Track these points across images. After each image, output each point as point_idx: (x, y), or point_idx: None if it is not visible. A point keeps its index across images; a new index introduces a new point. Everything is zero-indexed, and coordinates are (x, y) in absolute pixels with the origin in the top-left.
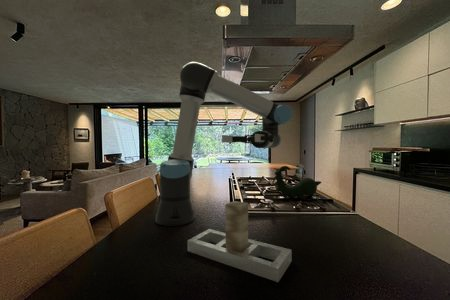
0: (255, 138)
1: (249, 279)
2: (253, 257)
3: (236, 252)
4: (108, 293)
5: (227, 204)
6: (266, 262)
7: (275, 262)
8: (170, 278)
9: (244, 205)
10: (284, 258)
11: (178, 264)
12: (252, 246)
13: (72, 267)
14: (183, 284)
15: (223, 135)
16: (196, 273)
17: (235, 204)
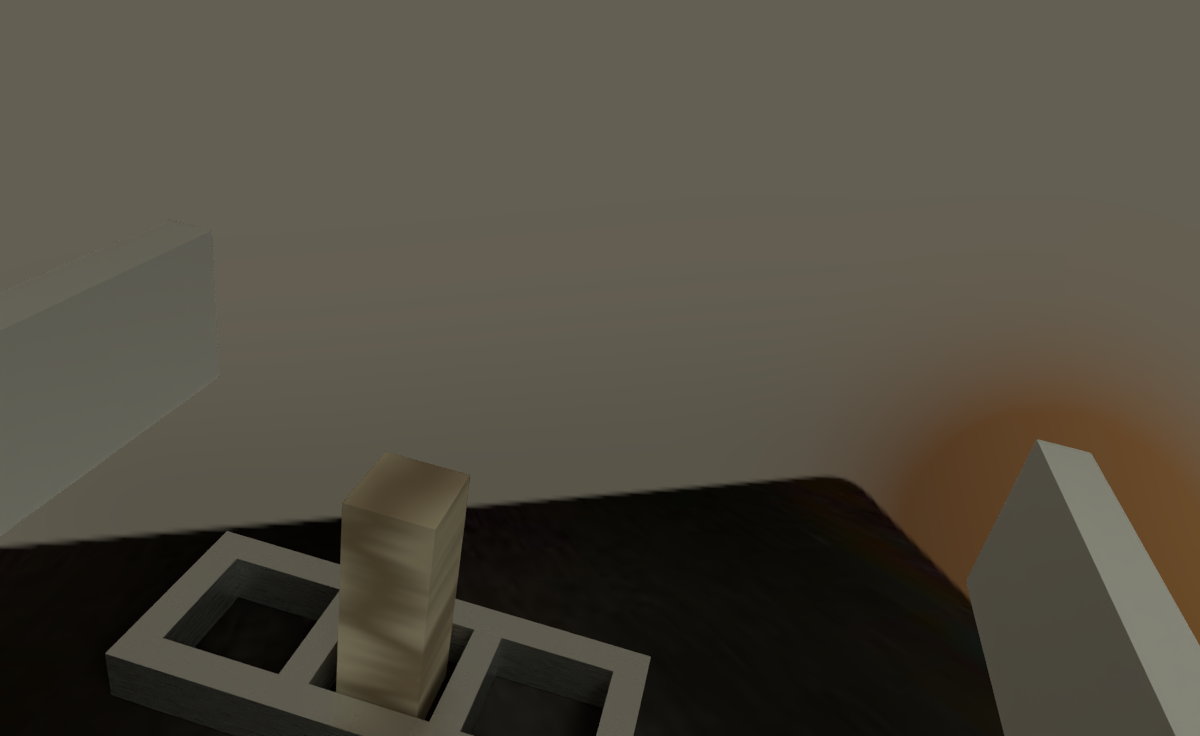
0: (203, 313)
1: None
2: (315, 575)
3: None
4: (702, 490)
5: (459, 475)
6: (265, 554)
7: (227, 558)
8: (593, 546)
9: (363, 479)
10: (176, 584)
11: (615, 606)
12: (314, 653)
13: (912, 551)
14: (540, 531)
15: (1033, 449)
16: (525, 574)
17: (415, 478)
